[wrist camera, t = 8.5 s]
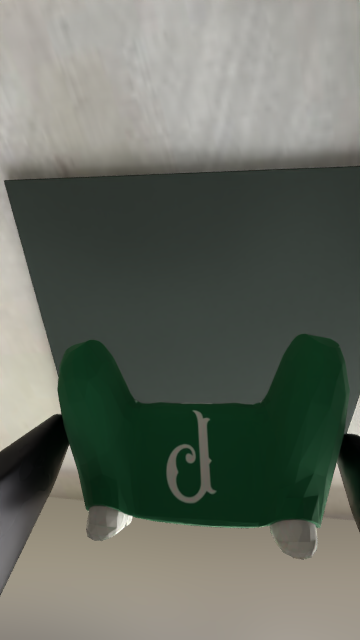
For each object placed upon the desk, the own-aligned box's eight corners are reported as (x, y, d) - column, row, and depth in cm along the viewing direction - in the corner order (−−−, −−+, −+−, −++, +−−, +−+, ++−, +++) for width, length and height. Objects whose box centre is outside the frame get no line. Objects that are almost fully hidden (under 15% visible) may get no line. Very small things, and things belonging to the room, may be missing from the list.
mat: (430, 163, 10) (438, 162, 10) (337, 446, 17) (340, 452, 17) (9, 180, 12) (3, 180, 12) (76, 428, 19) (73, 433, 19)
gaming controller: (102, 357, 12) (84, 507, 10) (53, 334, 9) (13, 555, 7) (308, 353, 11) (335, 525, 9) (349, 325, 8) (407, 597, 6)
